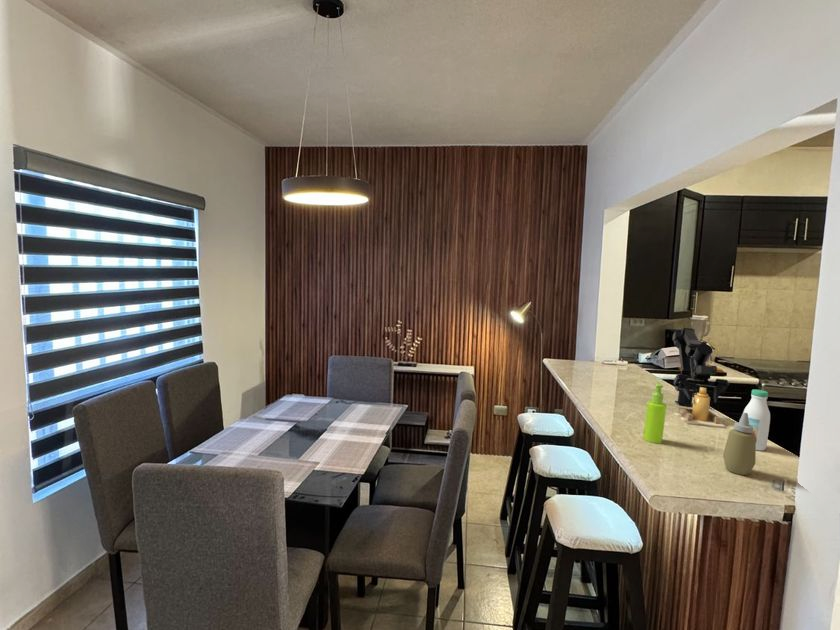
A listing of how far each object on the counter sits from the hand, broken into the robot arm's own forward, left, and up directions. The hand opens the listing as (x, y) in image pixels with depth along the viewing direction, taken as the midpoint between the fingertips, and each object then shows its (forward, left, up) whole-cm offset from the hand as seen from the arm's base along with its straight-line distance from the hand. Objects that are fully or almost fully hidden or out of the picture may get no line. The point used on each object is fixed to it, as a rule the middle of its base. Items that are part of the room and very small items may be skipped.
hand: (702, 400), depth 184 cm
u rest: (-1, 0, -9) cm, 9 cm away
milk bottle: (+25, +7, -9) cm, 27 cm away
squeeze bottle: (+50, -9, -9) cm, 51 cm away
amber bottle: (-2, 0, -8) cm, 8 cm away
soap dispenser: (+30, -27, -9) cm, 41 cm away
